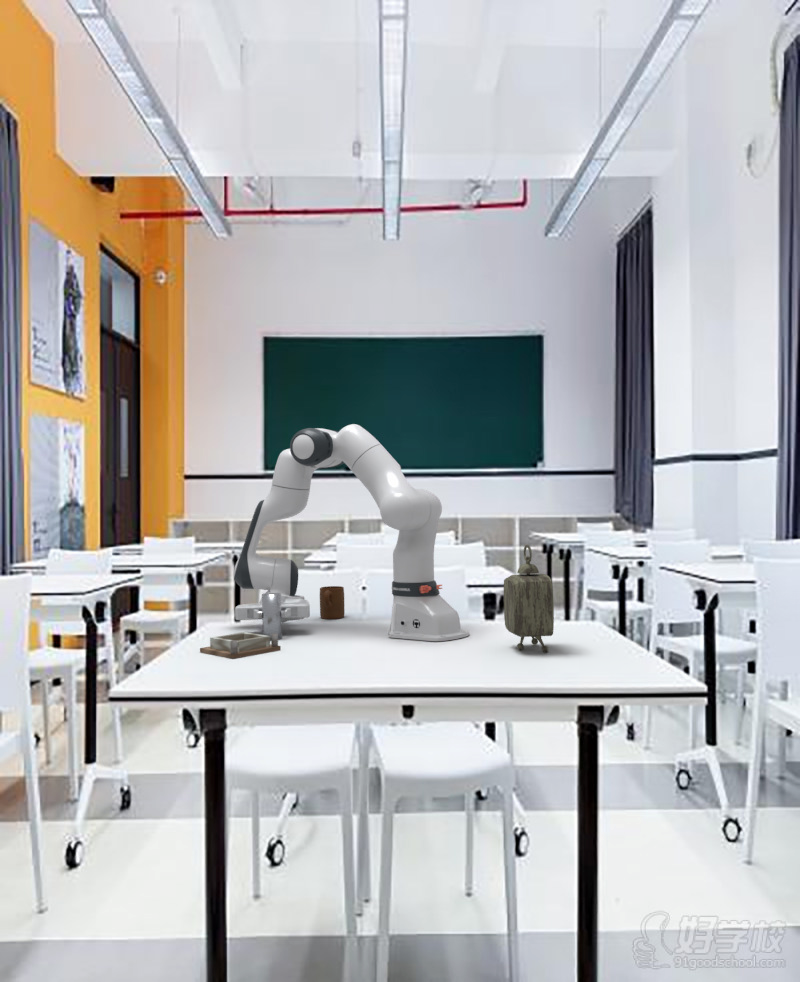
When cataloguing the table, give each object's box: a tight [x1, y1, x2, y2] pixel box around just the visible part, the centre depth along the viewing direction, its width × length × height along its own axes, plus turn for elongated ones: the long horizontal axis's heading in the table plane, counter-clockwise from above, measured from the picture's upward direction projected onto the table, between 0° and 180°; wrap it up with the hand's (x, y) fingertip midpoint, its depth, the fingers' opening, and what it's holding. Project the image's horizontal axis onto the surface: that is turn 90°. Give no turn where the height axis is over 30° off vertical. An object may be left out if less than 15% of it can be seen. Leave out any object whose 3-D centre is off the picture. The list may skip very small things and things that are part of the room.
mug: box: [319, 585, 345, 620], centre depth 263 cm, size 12×8×9 cm, turn 172°
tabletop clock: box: [503, 544, 555, 654], centre depth 204 cm, size 14×9×25 cm, turn 4°
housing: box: [199, 631, 281, 660], centre depth 211 cm, size 14×14×4 cm
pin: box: [261, 592, 283, 642], centre depth 228 cm, size 5×5×12 cm
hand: (271, 614), depth 227 cm, fingers closed on pin, 5 cm apart
